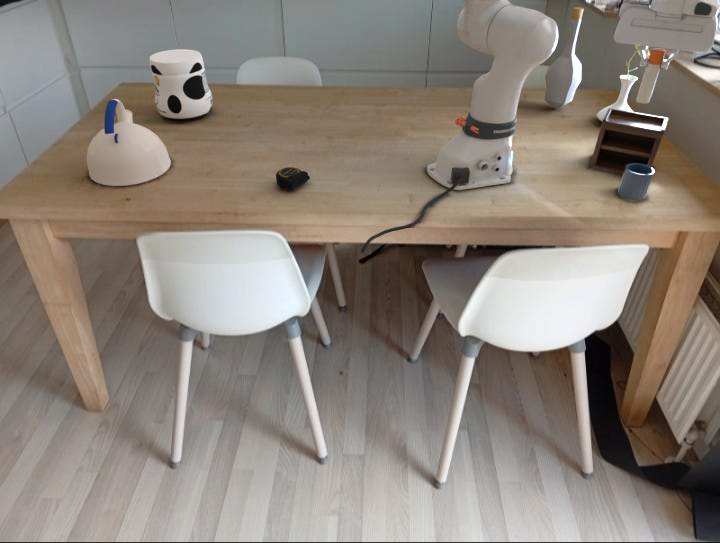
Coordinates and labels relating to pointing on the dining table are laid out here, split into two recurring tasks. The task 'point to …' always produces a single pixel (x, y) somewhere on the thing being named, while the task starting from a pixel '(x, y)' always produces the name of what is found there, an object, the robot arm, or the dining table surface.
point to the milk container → (180, 84)
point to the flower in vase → (623, 89)
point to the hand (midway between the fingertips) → (653, 67)
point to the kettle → (125, 151)
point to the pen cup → (636, 181)
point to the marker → (650, 75)
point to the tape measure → (291, 178)
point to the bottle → (565, 68)
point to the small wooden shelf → (627, 139)
